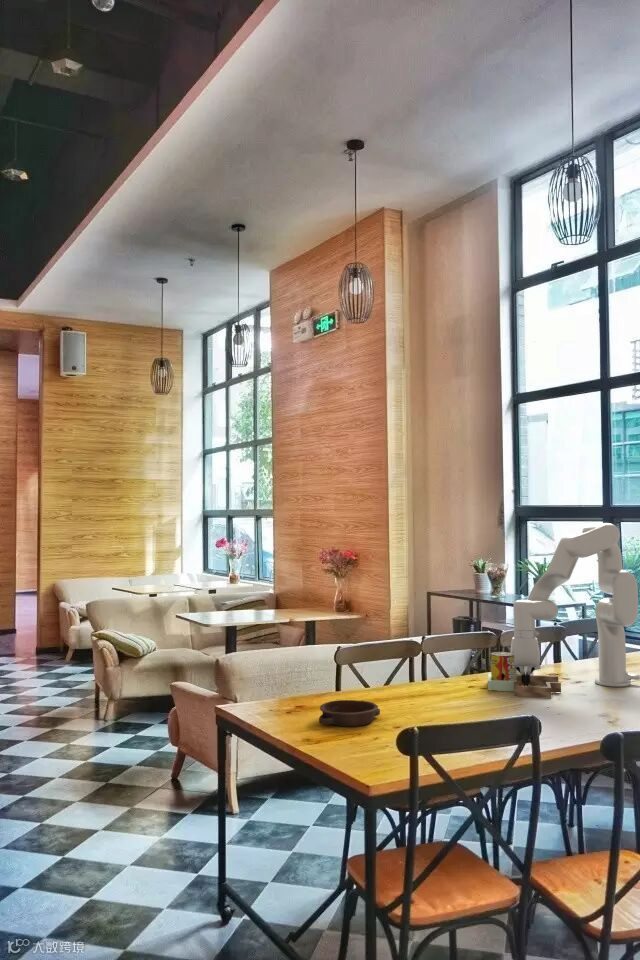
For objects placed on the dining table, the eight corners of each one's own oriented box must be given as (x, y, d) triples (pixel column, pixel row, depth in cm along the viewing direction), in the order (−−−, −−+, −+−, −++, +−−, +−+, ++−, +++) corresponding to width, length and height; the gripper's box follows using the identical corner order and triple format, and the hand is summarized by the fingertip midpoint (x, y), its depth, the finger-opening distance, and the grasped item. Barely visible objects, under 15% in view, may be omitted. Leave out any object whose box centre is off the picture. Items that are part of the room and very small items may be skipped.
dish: (303, 722, 243) (302, 705, 243) (359, 711, 256) (359, 695, 256) (337, 734, 229) (337, 716, 229) (395, 722, 242) (395, 705, 242)
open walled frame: (558, 685, 293) (558, 676, 293) (563, 698, 272) (562, 688, 272) (491, 683, 298) (491, 673, 298) (491, 695, 277) (491, 685, 277)
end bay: (516, 683, 297) (516, 674, 297) (517, 691, 283) (517, 681, 283) (488, 682, 299) (488, 673, 299) (487, 690, 285) (487, 680, 285)
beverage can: (489, 688, 288) (489, 655, 289) (493, 683, 297) (492, 651, 297) (515, 690, 285) (514, 656, 286) (518, 685, 294) (517, 652, 294)
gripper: (545, 633, 292) (546, 683, 291) (503, 632, 295) (504, 682, 294) (546, 636, 285) (547, 688, 284) (503, 635, 288) (504, 686, 287)
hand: (525, 685), depth 289 cm, fingers closed
